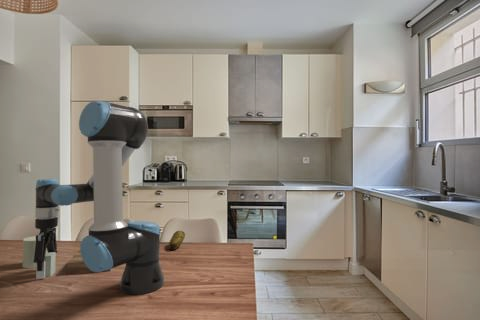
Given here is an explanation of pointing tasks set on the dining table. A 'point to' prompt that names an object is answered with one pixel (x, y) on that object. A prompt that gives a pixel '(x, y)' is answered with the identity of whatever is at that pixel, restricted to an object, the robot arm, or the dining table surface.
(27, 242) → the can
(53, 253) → the sage block
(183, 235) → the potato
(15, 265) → the dining table surface
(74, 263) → the walnut block
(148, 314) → the dining table surface
